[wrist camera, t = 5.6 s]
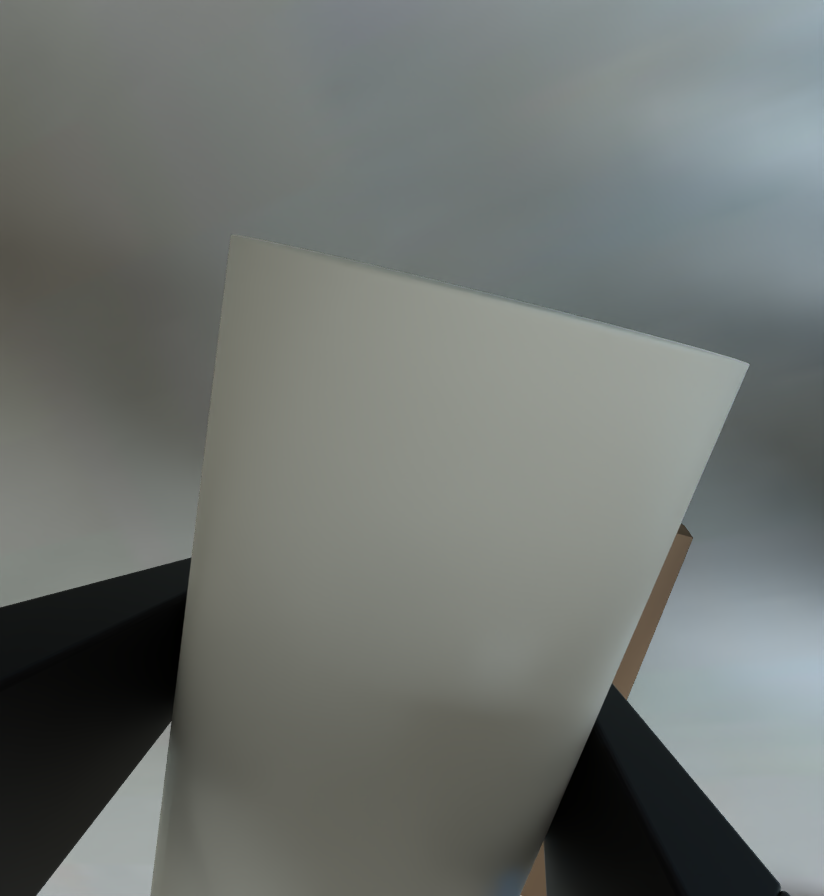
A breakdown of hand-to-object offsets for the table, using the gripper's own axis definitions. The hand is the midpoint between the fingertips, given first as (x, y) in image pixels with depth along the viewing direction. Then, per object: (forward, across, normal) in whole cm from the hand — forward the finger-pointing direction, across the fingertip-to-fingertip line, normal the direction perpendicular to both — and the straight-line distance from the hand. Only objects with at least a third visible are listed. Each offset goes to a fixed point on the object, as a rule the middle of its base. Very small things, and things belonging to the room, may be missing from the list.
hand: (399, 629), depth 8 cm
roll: (+1, 0, 0) cm, 1 cm away
